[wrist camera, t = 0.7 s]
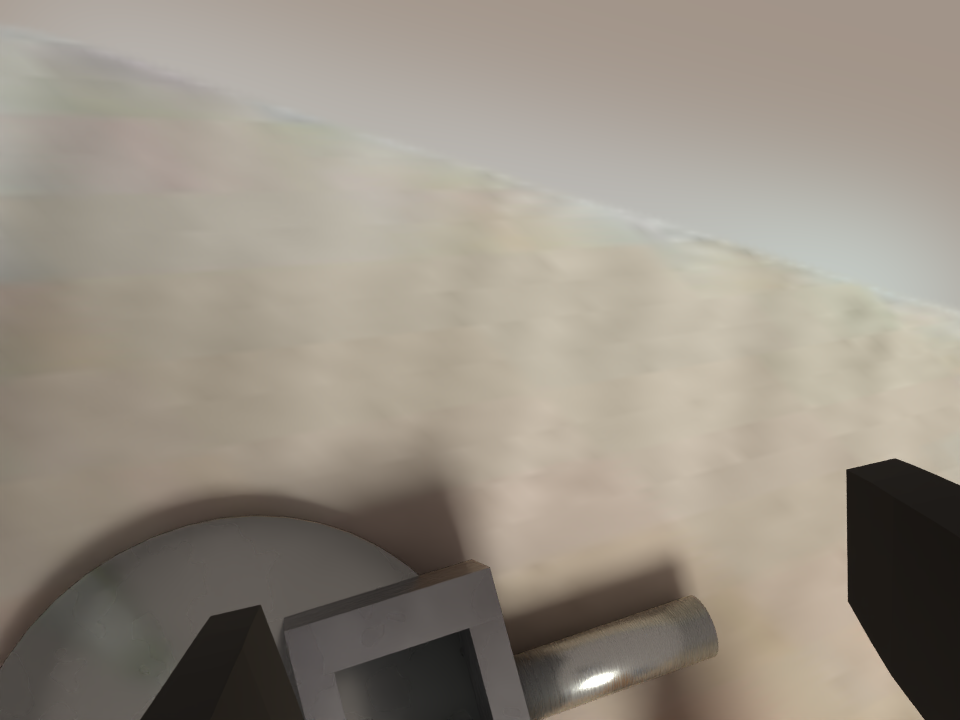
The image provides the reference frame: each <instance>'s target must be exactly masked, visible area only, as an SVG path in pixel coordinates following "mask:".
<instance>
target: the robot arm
mask: <svg viewBox="0 0 960 720" xmlns="http://www.w3.org/2000/svg"><path fill="white" fill-rule="evenodd" d="M846 474H847V557H848V602H849V604H850V606H851V607H852V609H853V611H854V613H855V614H856V616H857V618H858V620H859V622H860V623H861V625H862V627H863V629H864V630H865V632H866V634H867V636H868V637H869V639H870V641H871V643H872V644H873V646H874V648H875V649H876V651H877V653H878V654H879V656H880V658H881V659H882V661H883V662H884V664H885V666H886V667H887V669H888V671H889V672H890V674H891V676H892V677H893V678H894V680H895V681H896V682H897V684H898V685H899V686H900V688H901V689H902V690H903V692H904V693H905V694H906V696H907V697H908V698H909V700H910V701H911V702H912V704H913V705H914V706H915V708H916V709H917V710H918V711H919V713H920V714H921V715H922V717H923V718H924V719H925V720H960V485H958V484H955V483H953V482H951V481H949V480H946V479H944V478H942V477H940V476H937V475H935V474H933V473H930V472H928V471H926V470H923V469H921V468H918V467H916V466H914V465H911V464H909V463H906V462H903V461H901V460H898V459H890V460H886V461H882V462H877V463H873V464H869V465H864V466H860V467H856V468H851V469H847V470H846ZM140 720H304V718H303V715H302V712H301V710H300V707H299V704H298V702H297V699H296V696H295V694H294V691H293V688H292V686H291V683H290V680H289V678H288V675H287V673H286V670H285V667H284V665H283V662H282V659H281V657H280V654H279V651H278V649H277V646H276V643H275V641H274V638H273V635H272V633H271V630H270V627H269V625H268V622H267V620H266V617H265V614H264V612H263V609H262V606H261V605H256V606H252V607H248V608H243V609H239V610H235V611H230V612H226V613H222V614H217V615H213V616H210V617H209V619H208V620H207V622H206V623H205V625H204V626H203V627H202V629H201V630H200V632H199V633H198V635H197V636H196V638H195V639H194V640H193V642H192V643H191V645H190V646H189V648H188V649H187V651H186V652H185V654H184V655H183V657H182V658H181V660H180V661H179V663H178V664H177V666H176V667H175V669H174V670H173V672H172V673H171V675H170V676H169V678H168V679H167V681H166V682H165V684H164V685H163V687H162V688H161V690H160V691H159V692H158V694H157V695H156V697H155V698H154V700H153V701H152V703H151V704H150V706H149V707H148V709H147V710H146V712H145V713H144V715H143V716H142V718H141V719H140Z"/></svg>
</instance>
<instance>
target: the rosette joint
mask: <svg viewBox="0 0 960 720" xmlns="http://www.w3.org/2000/svg"><path fill="white" fill-rule="evenodd" d="M256 605H261V606H262V609H263V612H264V614H265V617H266V620H267V622H268V625H269V627H270V630H271V633H272V635H273V638H274V641H275V643H276V646H277V649H278V651H279V654H280V657H281V659H282V662H283V665H284V667H285V670H286V673H287V675H288V678H289V680H290V683H291V686H292V688H293V691H294V694H295V696H296V699H297V702H298V704H299V707H300V710H301V712H302V715H303V718H304V720H542V719H544V718H547V717H550V716H553V715H555V714H558V713H561V712H564V711H566V710H569V709H572V708H575V707H577V706H580V705H583V704H586V703H588V702H591V701H594V700H597V699H599V698H602V697H605V696H608V695H610V694H613V693H616V692H619V691H621V690H624V689H627V688H630V687H632V686H635V685H638V684H641V683H643V682H646V681H649V680H652V679H654V678H657V677H660V676H663V675H665V674H668V673H671V672H674V671H676V670H679V669H682V668H685V667H687V666H690V665H693V664H696V663H698V662H701V661H704V660H707V659H709V658H712V657H715V656H716V655H717V652H718V639H717V634H716V630H715V627H714V624H713V622H712V619H711V617H710V615H709V613H708V612H707V610H706V608H705V607H704V605H703V604H702V603H701V602H700V601H699V599H697V598H696V597H695V596H692V595H689V596H686V597H683V598H681V599H678V600H675V601H672V602H669V603H666V604H663V605H660V606H657V607H654V608H651V609H648V610H645V611H642V612H640V613H637V614H634V615H631V616H628V617H625V618H622V619H619V620H616V621H613V622H610V623H607V624H604V625H601V626H599V627H596V628H593V629H590V630H587V631H584V632H581V633H578V634H575V635H572V636H569V637H566V638H563V639H560V640H558V641H555V642H552V643H549V644H546V645H543V646H540V647H537V648H534V649H531V650H528V651H525V652H522V653H520V654H517V655H514V656H513V653H512V649H511V645H510V641H509V638H508V634H507V630H506V626H505V623H504V619H503V615H502V611H501V608H500V604H499V600H498V597H497V593H496V589H495V585H494V582H493V578H492V574H491V570H490V567H488V566H485V565H483V564H481V563H479V562H476V561H474V560H472V559H471V560H468V561H465V562H462V563H458V564H455V565H452V566H449V567H445V568H442V569H439V570H436V571H432V572H429V573H426V574H423V575H420V576H419V575H418V574H417V573H415V572H414V571H413V570H412V569H411V568H410V567H409V566H407V565H406V564H405V563H403V562H402V561H400V560H399V559H397V558H396V557H394V556H393V555H391V554H390V553H388V552H387V551H385V550H384V549H382V548H380V547H379V546H377V545H375V544H373V543H371V542H369V541H367V540H365V539H363V538H361V537H358V536H356V535H354V534H352V533H350V532H347V531H344V530H341V529H338V528H335V527H332V526H329V525H326V524H322V523H319V522H314V521H308V520H302V519H297V518H291V517H280V516H259V515H252V516H240V517H228V518H219V519H215V520H210V521H205V522H200V523H195V524H191V525H187V526H184V527H181V528H178V529H175V530H172V531H169V532H166V533H164V534H161V535H158V536H155V537H153V538H150V539H148V540H146V541H144V542H142V543H140V544H138V545H136V546H134V547H132V548H130V549H128V550H126V551H124V552H122V553H120V554H117V555H116V556H114V557H113V558H111V559H110V560H108V561H107V562H105V563H104V564H102V565H100V566H99V567H97V568H96V569H94V570H93V571H91V572H90V573H88V574H86V575H85V576H84V577H83V578H81V579H80V580H79V581H78V582H77V583H75V584H74V585H73V586H72V587H71V588H69V589H68V590H67V591H66V592H65V593H63V594H62V595H61V596H60V597H59V598H57V599H56V600H55V601H54V602H53V603H52V604H51V606H50V607H49V608H48V609H47V610H46V611H45V612H44V613H43V614H42V615H41V616H40V617H39V618H38V619H37V620H36V621H35V622H34V623H33V625H32V626H31V627H30V628H29V629H28V630H27V632H26V633H25V634H24V636H23V637H22V638H21V640H20V641H19V642H18V644H17V645H16V647H15V648H14V649H13V651H12V652H11V653H10V655H9V656H8V657H7V659H6V660H5V662H4V664H3V665H2V667H1V669H0V720H140V719H141V718H142V716H143V715H144V713H145V712H146V710H147V709H148V707H149V706H150V704H151V703H152V701H153V700H154V698H155V697H156V695H157V694H158V692H159V691H160V690H161V688H162V687H163V685H164V684H165V682H166V681H167V679H168V678H169V676H170V675H171V673H172V672H173V670H174V669H175V667H176V666H177V664H178V663H179V661H180V660H181V658H182V657H183V655H184V654H185V652H186V651H187V649H188V648H189V646H190V645H191V643H192V642H193V640H194V639H195V638H196V636H197V635H198V633H199V632H200V630H201V629H202V627H203V626H204V625H205V623H206V622H207V620H208V619H209V617H210V616H213V615H217V614H222V613H226V612H230V611H235V610H239V609H243V608H248V607H252V606H256Z"/></svg>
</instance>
